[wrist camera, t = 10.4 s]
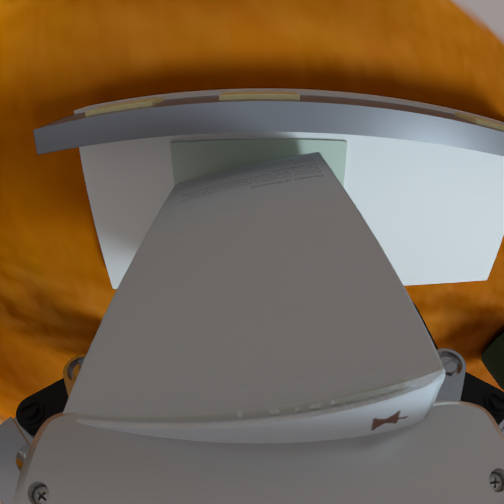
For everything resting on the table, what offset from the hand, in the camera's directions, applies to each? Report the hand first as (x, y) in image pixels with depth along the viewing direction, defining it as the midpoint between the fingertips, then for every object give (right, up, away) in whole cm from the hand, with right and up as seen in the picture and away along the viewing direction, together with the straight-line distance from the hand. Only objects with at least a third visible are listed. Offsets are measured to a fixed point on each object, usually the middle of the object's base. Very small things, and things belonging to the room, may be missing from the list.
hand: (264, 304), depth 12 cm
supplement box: (0, +3, +5) cm, 6 cm away
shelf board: (+4, +6, +7) cm, 10 cm away
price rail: (+4, +9, +3) cm, 10 cm away
